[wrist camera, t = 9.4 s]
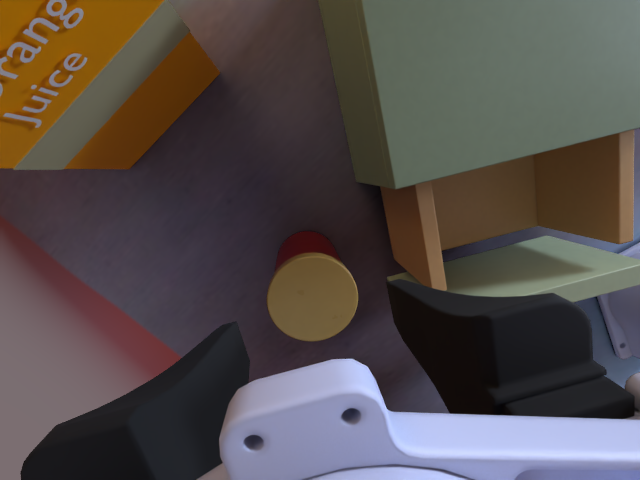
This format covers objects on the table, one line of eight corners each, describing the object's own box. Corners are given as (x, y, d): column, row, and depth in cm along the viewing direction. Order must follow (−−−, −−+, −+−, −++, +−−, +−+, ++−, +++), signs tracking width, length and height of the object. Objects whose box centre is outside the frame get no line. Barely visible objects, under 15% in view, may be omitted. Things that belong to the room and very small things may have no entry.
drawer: (550, 296, 24) (648, 344, 17) (398, 337, 24) (439, 402, 17) (536, 72, 20) (655, 24, 13) (354, 117, 20) (385, 90, 13)
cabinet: (538, 136, 22) (689, 115, 14) (356, 182, 22) (395, 189, 13) (524, -91, 19) (710, -302, 10) (309, -41, 18) (322, -218, 10)
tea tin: (349, 271, 23) (373, 315, 16) (295, 300, 23) (295, 357, 16) (319, 217, 22) (331, 239, 15) (263, 248, 22) (248, 285, 15)
